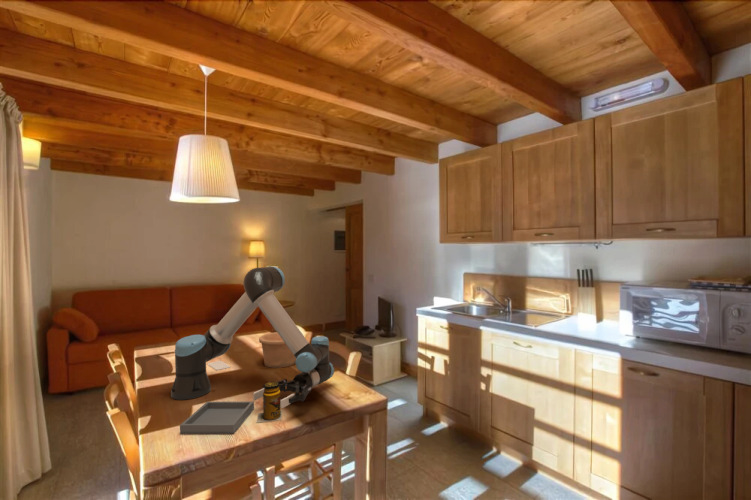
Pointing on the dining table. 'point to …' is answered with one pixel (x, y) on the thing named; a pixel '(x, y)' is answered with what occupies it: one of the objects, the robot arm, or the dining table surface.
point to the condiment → (270, 403)
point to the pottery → (276, 351)
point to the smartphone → (218, 365)
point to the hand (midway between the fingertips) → (267, 400)
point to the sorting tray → (217, 418)
